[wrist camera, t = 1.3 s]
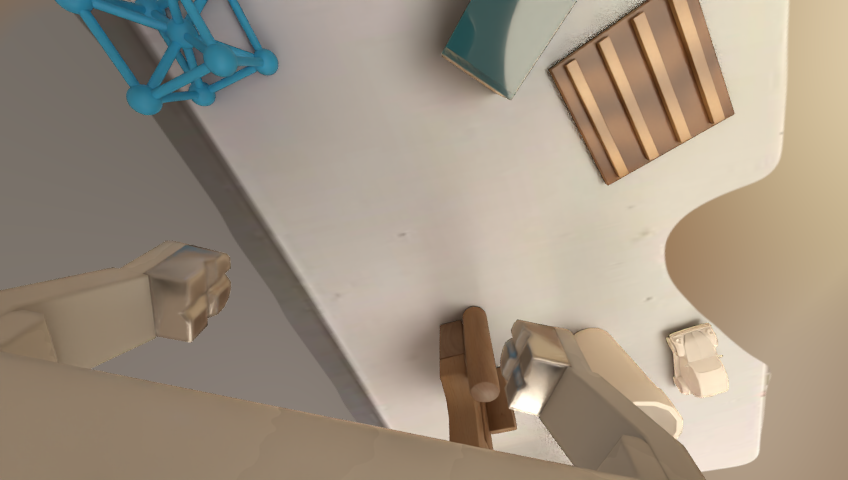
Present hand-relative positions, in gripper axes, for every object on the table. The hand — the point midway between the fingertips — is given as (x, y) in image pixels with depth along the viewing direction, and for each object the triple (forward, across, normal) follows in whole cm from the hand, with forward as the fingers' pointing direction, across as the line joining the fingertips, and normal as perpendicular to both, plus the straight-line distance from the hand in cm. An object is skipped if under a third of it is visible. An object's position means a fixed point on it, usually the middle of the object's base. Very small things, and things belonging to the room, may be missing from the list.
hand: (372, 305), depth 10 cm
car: (+31, -43, +20) cm, 57 cm away
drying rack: (+31, -20, -9) cm, 38 cm away
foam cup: (+31, -29, +22) cm, 48 cm away
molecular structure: (+30, +22, -4) cm, 38 cm away
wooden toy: (+31, -14, +28) cm, 44 cm away
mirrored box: (+30, -5, -11) cm, 33 cm away
